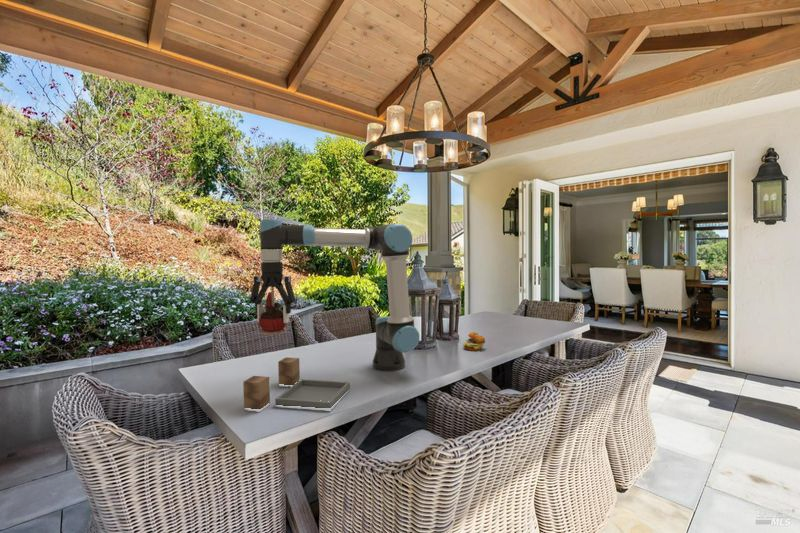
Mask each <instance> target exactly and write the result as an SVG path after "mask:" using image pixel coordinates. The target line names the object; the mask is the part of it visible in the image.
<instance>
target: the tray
mask: <svg viewBox="0 0 800 533" xmlns="http://www.w3.org/2000/svg"><path fill="white" fill-rule="evenodd" d="M349 389H350V390H351V382H350V381H334V380H320V379H303V378H301V379H300V381H298V382H297V383H296V384H294V385H293V386H292V387H288V388H287V389H286V390H285V391H283V392H282V393H281V394H280V395H279V396H277V397H276V398H275V401H274V403H275V405H283V406H301V407H315V408H331V407H332V406H333V405H334V404H335V403H336V402H337V401H338V400H339V399H340V398H341V397H342V396H343V395H344V394H345V393H346V392H347V391H348V390H349ZM350 390H349V391H350ZM320 400H321V401H320ZM328 401H329V402H328Z"/></svg>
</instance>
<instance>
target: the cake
mask: <svg viewBox="0 0 800 533" xmlns="http://www.w3.org/2000/svg"><path fill="white" fill-rule="evenodd" d="M270 288H271V289H270V290H271V291H268V293H267V296H266V299H265V305H264V306H265V307H263V314H261V317H260V318H259V322H258V326H259V328H261V329H260V330H259V333H260V334H262V335H267V336H273V335H274V336H275V335H280V334H282V333H286V332H288V328H287V327H286V325H287V324H288V322H287V323H284V320H283V310H282V309H283V308H282V309H280V308H281V305H280V302H275V291H274V289H275V287H270Z"/></svg>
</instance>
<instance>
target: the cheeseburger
mask: <svg viewBox="0 0 800 533" xmlns="http://www.w3.org/2000/svg"><path fill="white" fill-rule="evenodd" d="M468 337H469V338H467V339H466V340H464V343H463V345H462V348H463V350H464V349H466V350H469V351H472V352H476V351H480V350H482V349H483V347H484V344H485V343H486V338H485V337H484V336H483V335H479V334H478V333H477V332H474V331H472V332H470V333H469V334H468Z"/></svg>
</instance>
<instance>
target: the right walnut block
mask: <svg viewBox="0 0 800 533" xmlns="http://www.w3.org/2000/svg"><path fill="white" fill-rule="evenodd" d="M277 363H278V369H277V370H278V385H279V384H284V385H294V384H295V383H296V382H298V381H299V380H301V379H300V378H301V377H300V374H301V373H300V372H301V371H300V358H299V357H284V358H282V359H280V360H279V361H278V362H277Z"/></svg>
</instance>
